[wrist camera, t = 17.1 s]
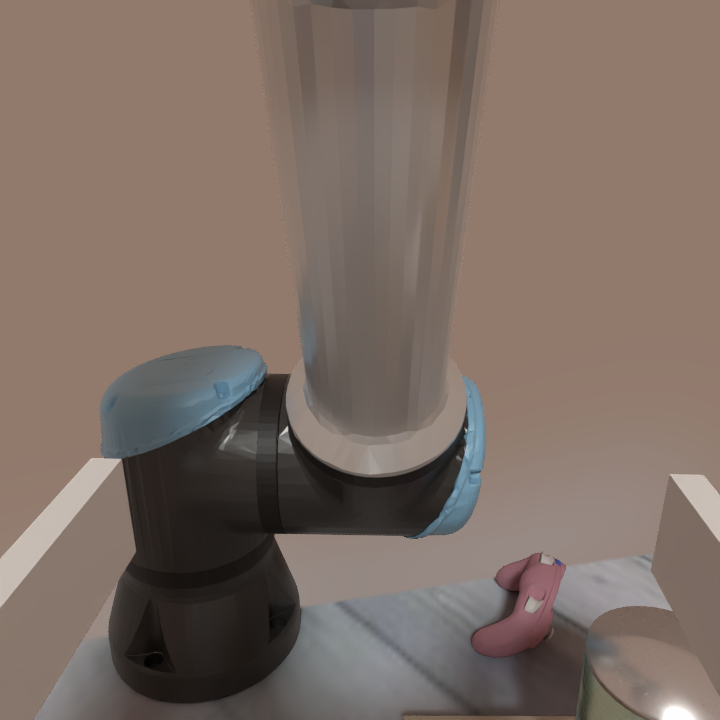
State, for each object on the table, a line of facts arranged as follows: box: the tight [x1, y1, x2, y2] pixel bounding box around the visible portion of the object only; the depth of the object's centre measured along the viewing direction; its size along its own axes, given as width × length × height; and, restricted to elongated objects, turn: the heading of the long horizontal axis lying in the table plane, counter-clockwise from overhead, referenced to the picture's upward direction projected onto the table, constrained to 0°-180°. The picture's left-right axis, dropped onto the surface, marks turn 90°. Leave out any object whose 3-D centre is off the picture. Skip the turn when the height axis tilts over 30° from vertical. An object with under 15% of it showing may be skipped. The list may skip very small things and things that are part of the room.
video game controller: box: [472, 552, 566, 657], centre depth 52 cm, size 10×5×7 cm, turn 156°
